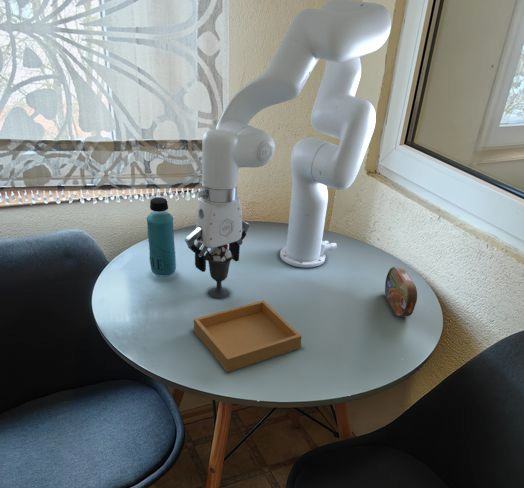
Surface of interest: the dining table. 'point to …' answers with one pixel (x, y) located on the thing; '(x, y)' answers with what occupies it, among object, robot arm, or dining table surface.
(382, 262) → the dining table surface
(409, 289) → the tin
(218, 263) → the sundae
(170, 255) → the beverage bottle
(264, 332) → the tray
